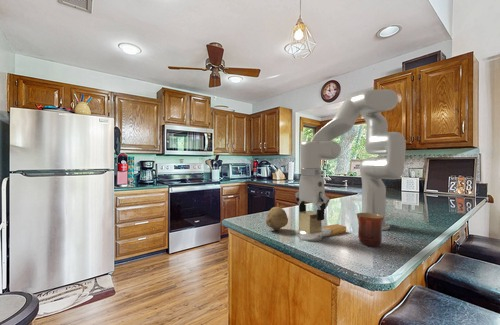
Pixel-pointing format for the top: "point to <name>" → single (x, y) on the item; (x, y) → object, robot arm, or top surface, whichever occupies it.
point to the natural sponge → (276, 218)
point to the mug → (370, 229)
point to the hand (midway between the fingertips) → (311, 217)
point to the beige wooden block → (309, 222)
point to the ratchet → (325, 232)
